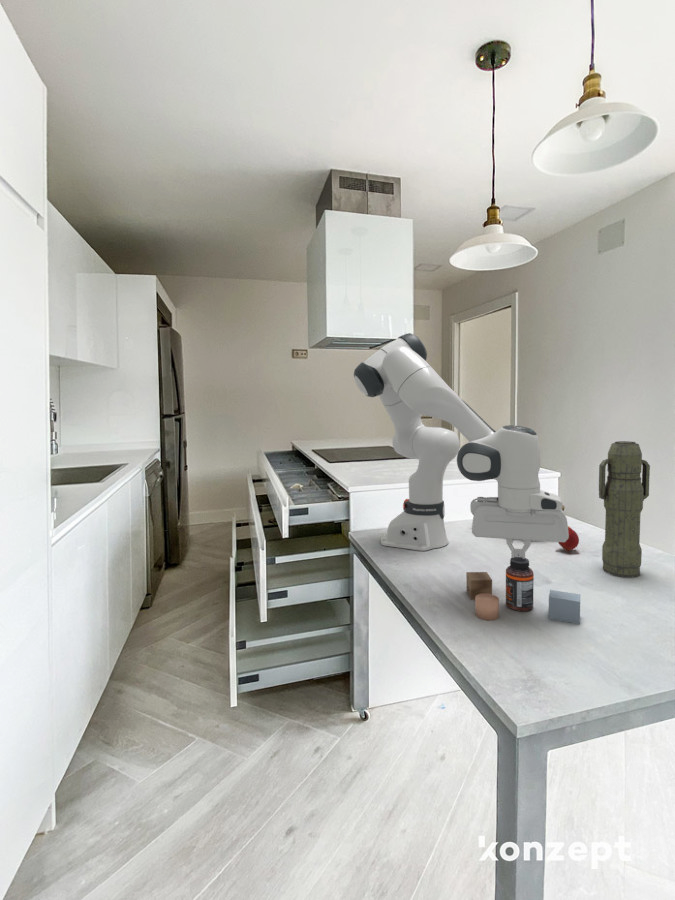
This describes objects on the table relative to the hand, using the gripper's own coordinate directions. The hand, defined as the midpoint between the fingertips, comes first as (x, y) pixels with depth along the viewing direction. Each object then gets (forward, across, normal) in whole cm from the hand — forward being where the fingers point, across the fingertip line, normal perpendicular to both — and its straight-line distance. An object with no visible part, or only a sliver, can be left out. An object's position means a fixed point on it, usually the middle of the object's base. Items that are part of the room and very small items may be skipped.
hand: (518, 557), depth 103 cm
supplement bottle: (+12, 0, 0) cm, 12 cm away
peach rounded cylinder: (+12, -7, -6) cm, 15 cm away
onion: (+12, +16, +42) cm, 47 cm away
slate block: (+12, +9, -3) cm, 15 cm away
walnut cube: (+12, -9, +4) cm, 15 cm away
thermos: (+12, +27, +28) cm, 41 cm away
